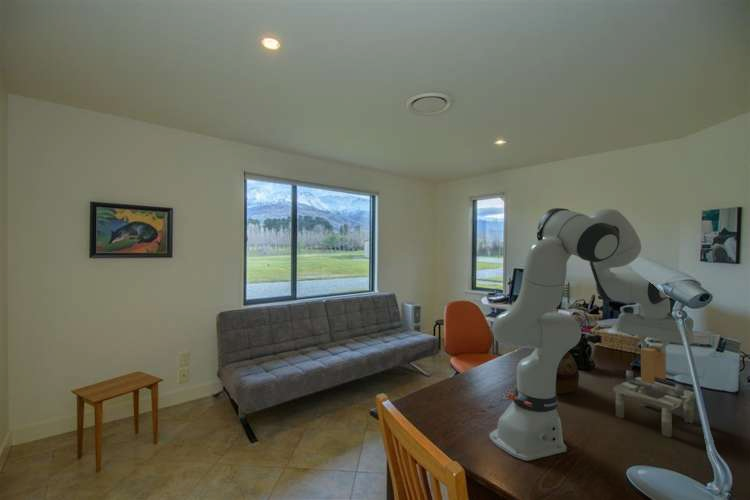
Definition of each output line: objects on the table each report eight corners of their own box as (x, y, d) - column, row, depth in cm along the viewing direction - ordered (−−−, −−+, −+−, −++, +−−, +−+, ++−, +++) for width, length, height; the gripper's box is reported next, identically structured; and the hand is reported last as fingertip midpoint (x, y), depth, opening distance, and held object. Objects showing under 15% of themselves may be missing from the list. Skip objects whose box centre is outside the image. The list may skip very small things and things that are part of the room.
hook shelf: (671, 438, 100) (670, 393, 100) (613, 415, 114) (612, 375, 114) (696, 422, 109) (695, 381, 108) (639, 402, 123) (639, 366, 123)
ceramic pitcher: (530, 394, 131) (529, 320, 131) (523, 375, 150) (522, 311, 150) (586, 400, 125) (585, 323, 125) (570, 380, 145) (570, 313, 144)
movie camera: (608, 365, 159) (605, 330, 159) (592, 375, 149) (589, 338, 149) (545, 352, 185) (543, 321, 185) (528, 360, 175) (525, 328, 175)
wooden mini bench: (655, 375, 115) (654, 344, 115) (666, 378, 112) (665, 346, 112) (641, 381, 110) (640, 348, 110) (651, 384, 107) (651, 351, 107)
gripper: (697, 314, 103) (697, 358, 103) (624, 305, 121) (624, 341, 121) (688, 317, 100) (689, 361, 100) (615, 306, 118) (615, 344, 119)
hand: (653, 350), depth 111 cm, fingers closed on wooden mini bench, 3 cm apart
